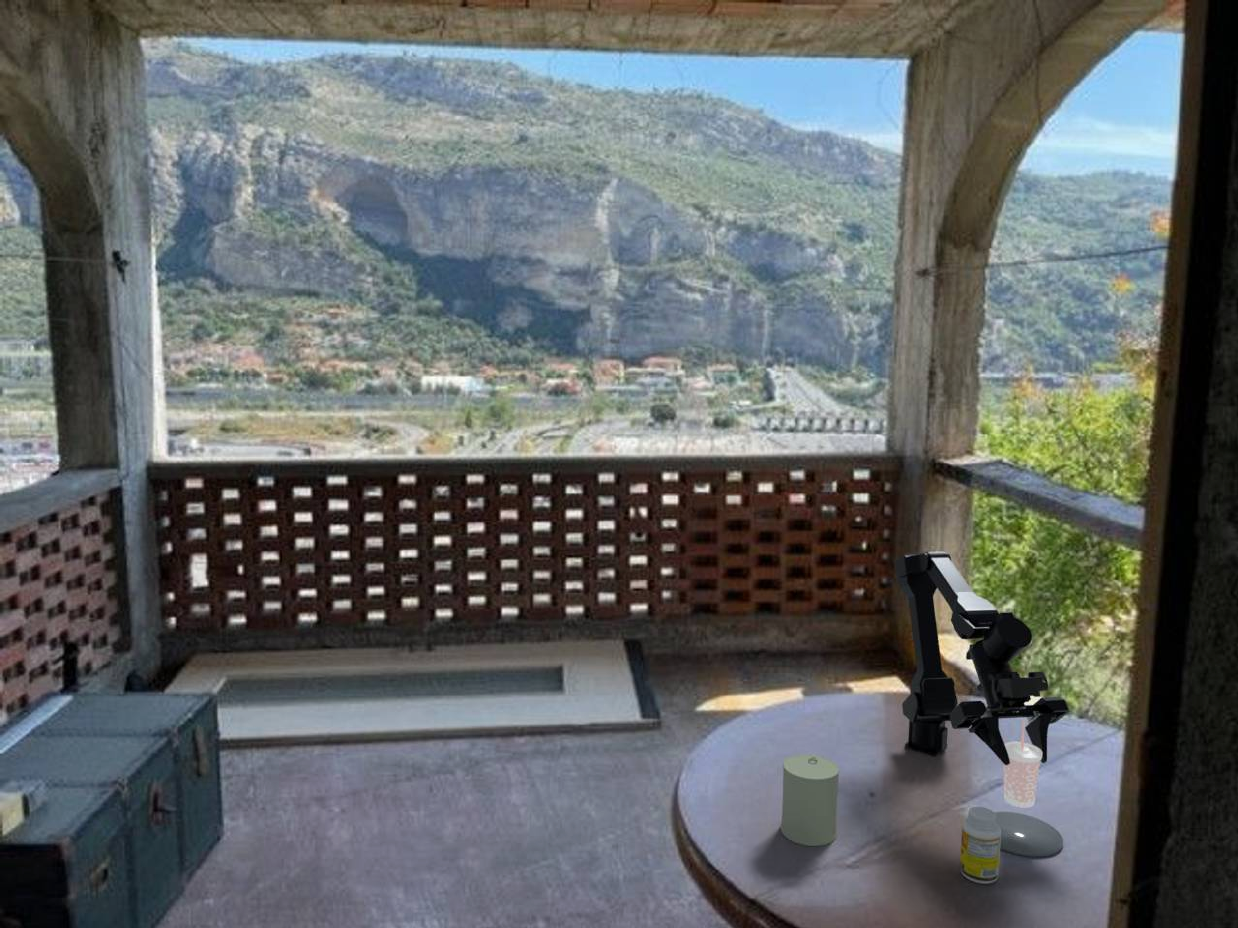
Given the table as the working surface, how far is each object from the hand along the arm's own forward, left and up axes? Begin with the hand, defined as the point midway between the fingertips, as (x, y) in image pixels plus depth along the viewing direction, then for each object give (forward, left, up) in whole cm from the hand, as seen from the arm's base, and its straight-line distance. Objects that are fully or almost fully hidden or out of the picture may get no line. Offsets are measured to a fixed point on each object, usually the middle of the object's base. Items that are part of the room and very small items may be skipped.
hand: (1026, 763), depth 150 cm
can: (-28, -21, -13) cm, 37 cm away
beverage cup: (-1, +1, -7) cm, 8 cm away
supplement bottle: (-2, -15, -13) cm, 20 cm away
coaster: (-1, +1, -13) cm, 13 cm away
